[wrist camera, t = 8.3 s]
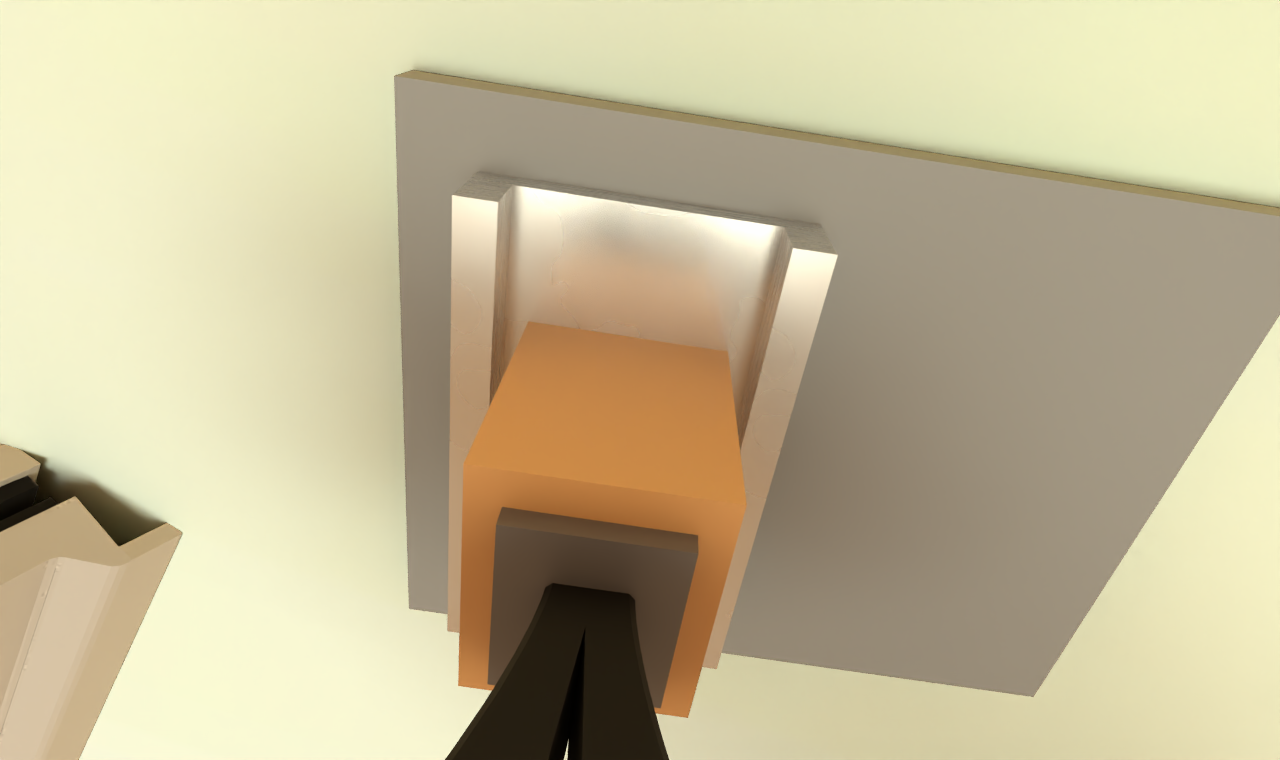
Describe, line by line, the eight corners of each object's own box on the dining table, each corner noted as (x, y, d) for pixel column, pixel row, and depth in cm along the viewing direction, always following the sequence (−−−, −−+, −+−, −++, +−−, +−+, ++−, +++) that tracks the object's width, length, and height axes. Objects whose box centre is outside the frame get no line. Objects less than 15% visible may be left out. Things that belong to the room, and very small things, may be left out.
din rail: (713, 613, 19) (716, 669, 18) (466, 578, 19) (447, 631, 18) (820, 224, 14) (837, 255, 12) (478, 171, 14) (452, 195, 12)
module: (686, 532, 17) (687, 737, 13) (515, 507, 17) (451, 705, 12) (728, 351, 15) (748, 523, 10) (528, 321, 15) (455, 480, 10)
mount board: (1018, 667, 21) (1033, 696, 20) (420, 582, 21) (409, 608, 20) (1297, 210, 14) (1337, 226, 13) (412, 69, 14) (394, 75, 13)
